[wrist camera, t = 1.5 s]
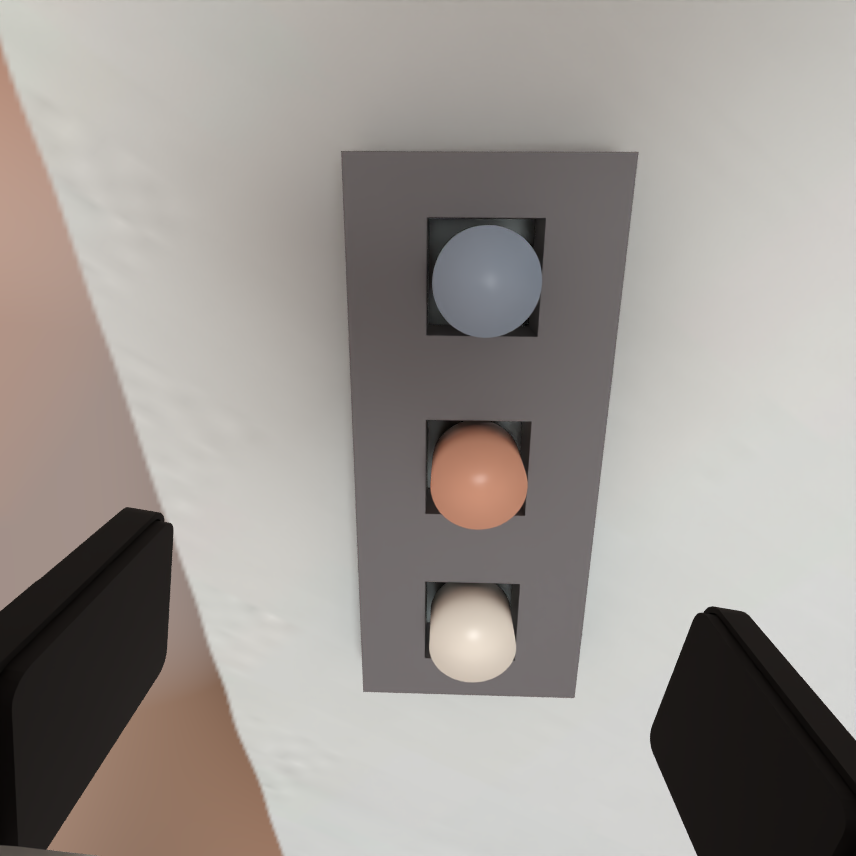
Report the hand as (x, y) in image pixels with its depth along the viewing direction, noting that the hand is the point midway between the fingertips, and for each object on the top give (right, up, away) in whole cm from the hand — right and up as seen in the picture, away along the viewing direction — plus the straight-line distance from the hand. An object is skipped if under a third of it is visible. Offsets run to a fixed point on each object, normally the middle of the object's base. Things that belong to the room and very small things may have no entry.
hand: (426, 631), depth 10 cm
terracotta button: (+2, +2, +19) cm, 19 cm away
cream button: (+2, -7, +22) cm, 23 cm away
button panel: (+2, +3, +20) cm, 21 cm away
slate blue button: (+3, +10, +16) cm, 19 cm away
